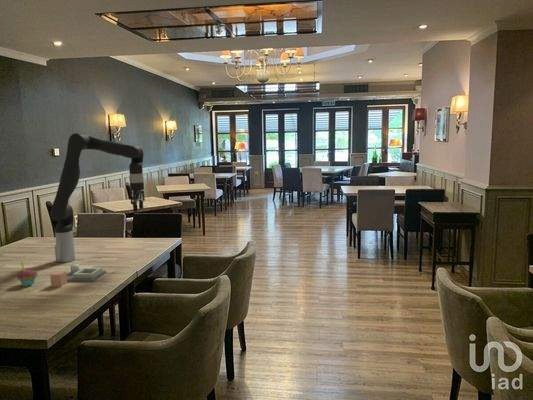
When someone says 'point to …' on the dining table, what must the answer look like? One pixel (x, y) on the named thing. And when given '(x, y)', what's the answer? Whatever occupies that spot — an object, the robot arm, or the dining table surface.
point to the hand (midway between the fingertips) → (138, 210)
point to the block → (58, 278)
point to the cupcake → (27, 276)
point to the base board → (84, 274)
